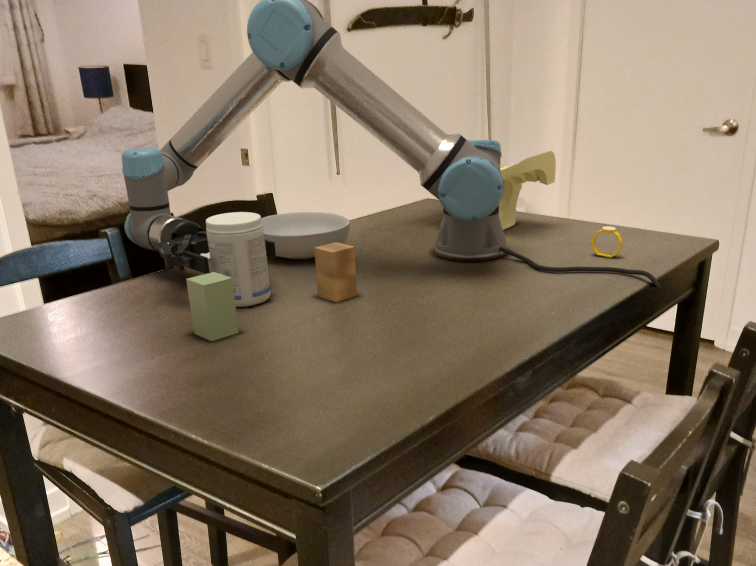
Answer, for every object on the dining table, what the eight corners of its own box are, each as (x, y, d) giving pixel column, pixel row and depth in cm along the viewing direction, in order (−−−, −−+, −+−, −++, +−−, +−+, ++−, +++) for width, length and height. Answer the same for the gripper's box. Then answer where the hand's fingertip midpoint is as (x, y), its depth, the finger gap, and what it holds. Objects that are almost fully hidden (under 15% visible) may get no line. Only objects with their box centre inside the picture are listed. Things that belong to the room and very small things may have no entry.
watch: (589, 256, 158) (591, 227, 155) (593, 253, 160) (596, 224, 157) (617, 259, 155) (620, 230, 152) (622, 256, 157) (624, 227, 154)
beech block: (339, 290, 139) (336, 241, 136) (357, 296, 136) (354, 246, 132) (317, 296, 136) (314, 247, 132) (335, 302, 133) (332, 252, 129)
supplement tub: (263, 288, 141) (254, 209, 135) (277, 303, 133) (269, 219, 127) (210, 296, 137) (199, 215, 131) (222, 312, 129) (211, 226, 123)
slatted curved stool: (552, 225, 183) (556, 149, 176) (523, 240, 171) (526, 158, 164) (445, 213, 198) (444, 142, 191) (411, 225, 186) (410, 150, 179)
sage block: (221, 325, 123) (214, 271, 120) (238, 332, 120) (232, 277, 116) (194, 333, 120) (186, 278, 116) (211, 341, 117) (203, 285, 113)
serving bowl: (234, 262, 158) (230, 229, 155) (285, 239, 176) (282, 209, 173) (323, 271, 151) (320, 237, 148) (367, 246, 169) (366, 214, 166)
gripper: (236, 245, 155) (300, 263, 141) (119, 271, 139) (179, 295, 125) (232, 208, 152) (297, 223, 138) (112, 230, 136) (172, 250, 122)
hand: (241, 257), depth 131 cm, fingers open, 13 cm apart
